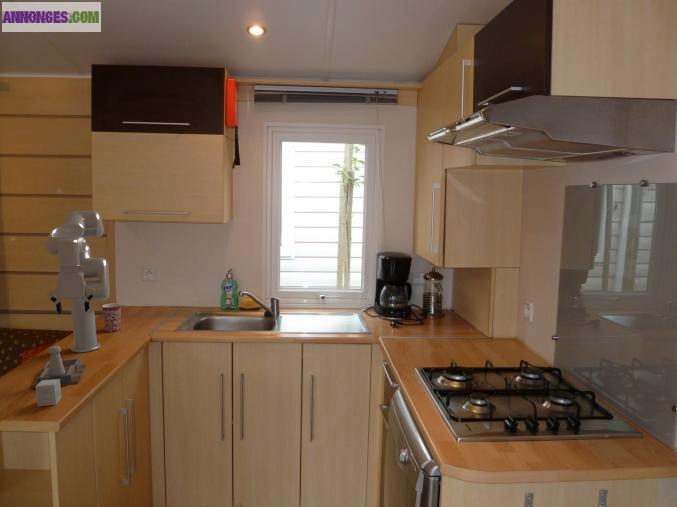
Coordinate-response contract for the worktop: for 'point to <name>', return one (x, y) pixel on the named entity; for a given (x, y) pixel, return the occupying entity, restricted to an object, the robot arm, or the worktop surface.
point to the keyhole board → (75, 378)
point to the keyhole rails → (63, 378)
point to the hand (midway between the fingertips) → (73, 312)
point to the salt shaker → (55, 362)
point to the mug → (112, 317)
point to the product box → (48, 392)
